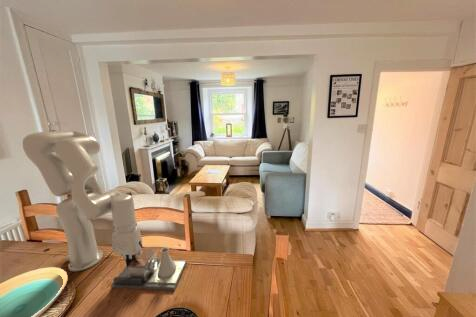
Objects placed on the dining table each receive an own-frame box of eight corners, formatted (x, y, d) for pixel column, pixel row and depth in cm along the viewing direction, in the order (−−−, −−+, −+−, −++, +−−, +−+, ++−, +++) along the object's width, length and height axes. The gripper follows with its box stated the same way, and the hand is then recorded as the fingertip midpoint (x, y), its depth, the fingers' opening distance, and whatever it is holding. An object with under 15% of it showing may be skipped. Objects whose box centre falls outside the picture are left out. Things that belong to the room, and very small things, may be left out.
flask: (179, 264, 82) (176, 244, 80) (171, 278, 75) (169, 256, 73) (163, 263, 83) (160, 243, 81) (154, 277, 76) (151, 255, 74)
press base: (111, 287, 74) (110, 280, 73) (133, 261, 88) (132, 254, 87) (174, 290, 72) (173, 283, 72) (186, 263, 86) (185, 256, 85)
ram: (130, 280, 75) (127, 266, 74) (144, 261, 85) (142, 248, 84) (149, 281, 75) (147, 267, 73) (161, 261, 84) (159, 248, 83)
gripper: (100, 230, 72) (107, 271, 77) (138, 232, 71) (143, 273, 75) (114, 219, 80) (120, 257, 84) (148, 221, 79) (152, 259, 83)
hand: (131, 265), depth 80 cm, fingers closed
